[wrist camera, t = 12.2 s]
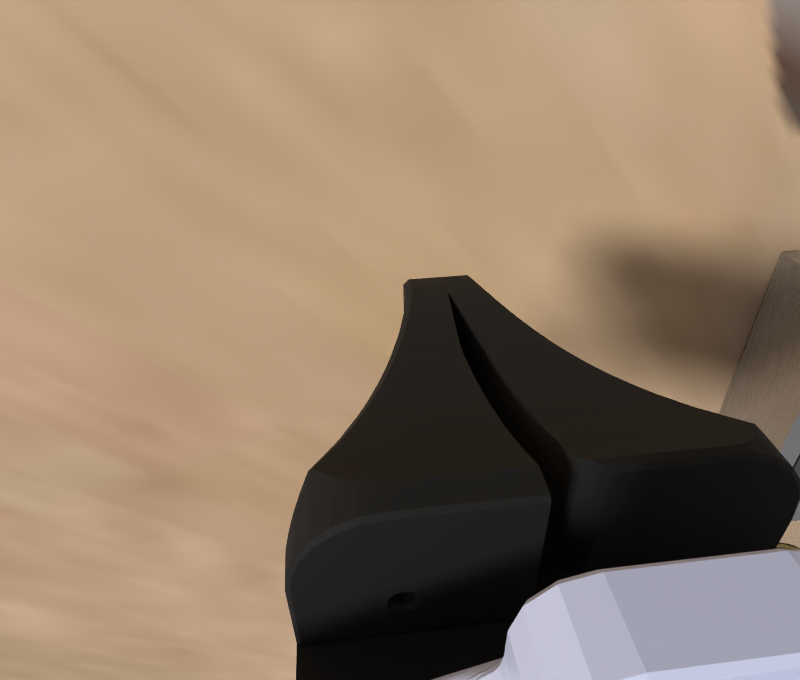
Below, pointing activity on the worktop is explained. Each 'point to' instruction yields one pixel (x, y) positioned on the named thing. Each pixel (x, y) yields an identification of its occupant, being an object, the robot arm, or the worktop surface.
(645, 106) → the worktop surface
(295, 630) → the robot arm
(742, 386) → the rack
